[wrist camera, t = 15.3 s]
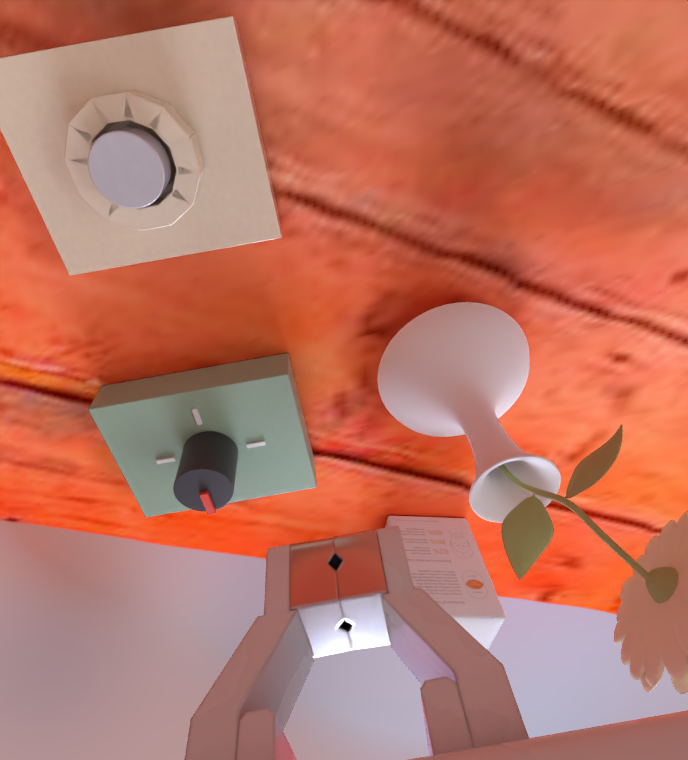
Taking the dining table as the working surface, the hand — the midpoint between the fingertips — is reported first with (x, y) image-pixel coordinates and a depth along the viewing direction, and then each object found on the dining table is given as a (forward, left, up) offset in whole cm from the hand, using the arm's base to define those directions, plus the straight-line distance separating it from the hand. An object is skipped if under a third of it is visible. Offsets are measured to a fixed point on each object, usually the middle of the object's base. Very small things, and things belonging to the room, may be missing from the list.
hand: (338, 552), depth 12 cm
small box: (-6, +31, -25) cm, 41 cm away
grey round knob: (+8, -6, -22) cm, 24 cm away
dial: (+10, +14, -22) cm, 28 cm away
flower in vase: (-9, +11, -25) cm, 29 cm away
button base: (+8, -6, -25) cm, 27 cm away
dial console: (+10, +14, -25) cm, 30 cm away
